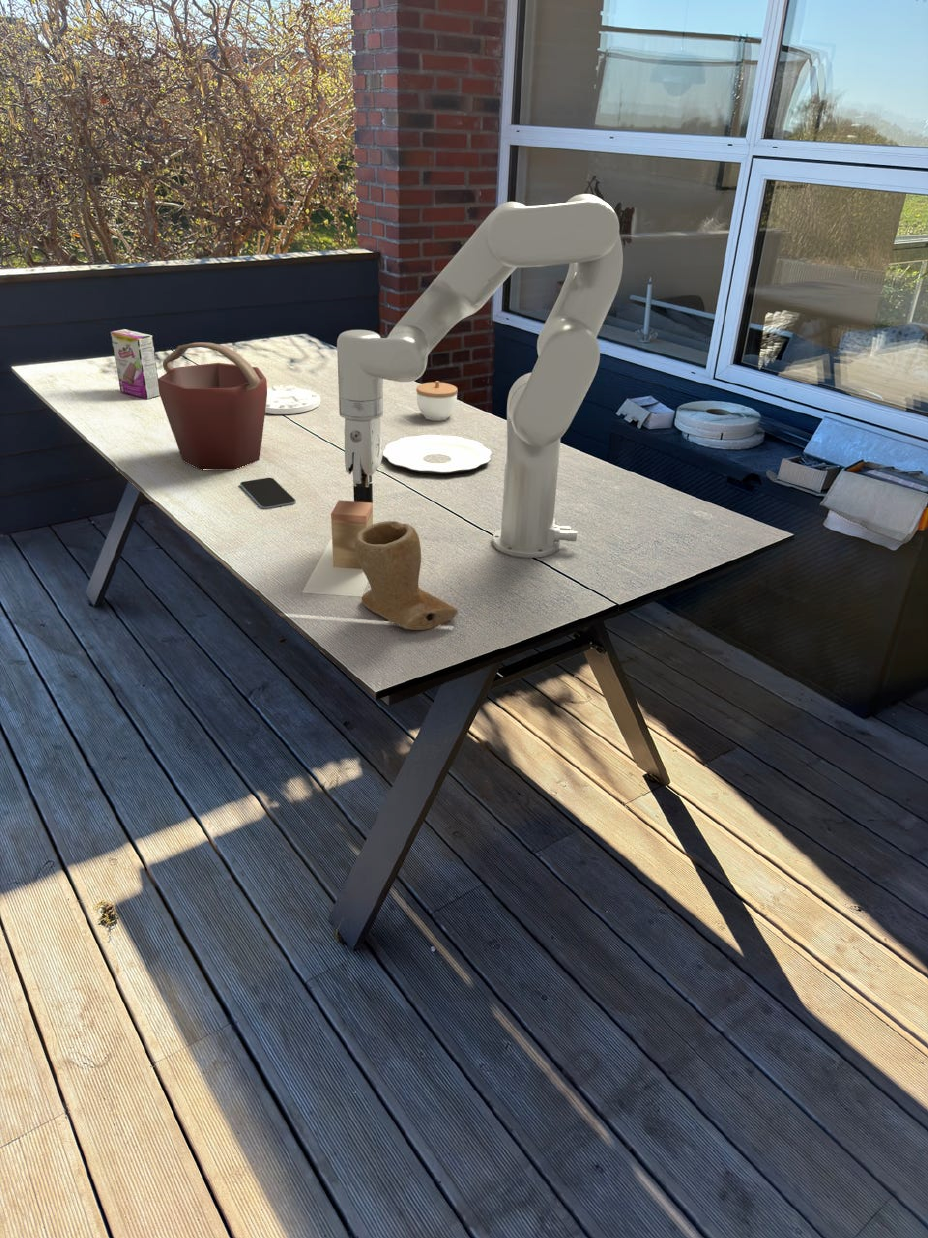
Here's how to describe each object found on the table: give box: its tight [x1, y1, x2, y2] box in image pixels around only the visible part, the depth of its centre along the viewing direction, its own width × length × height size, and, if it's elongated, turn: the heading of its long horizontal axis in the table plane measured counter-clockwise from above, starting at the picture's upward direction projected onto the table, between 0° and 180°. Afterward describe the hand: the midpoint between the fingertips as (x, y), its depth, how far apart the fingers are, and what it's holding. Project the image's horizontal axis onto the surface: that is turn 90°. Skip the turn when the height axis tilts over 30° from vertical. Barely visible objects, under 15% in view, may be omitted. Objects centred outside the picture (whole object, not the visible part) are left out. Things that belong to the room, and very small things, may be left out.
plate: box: [382, 434, 493, 475], centre depth 206 cm, size 25×25×2 cm
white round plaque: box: [265, 384, 321, 415], centre depth 239 cm, size 20×20×3 cm
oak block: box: [330, 500, 374, 569], centre depth 155 cm, size 6×6×10 cm
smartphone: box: [239, 477, 297, 510], centre depth 184 cm, size 7×1×15 cm
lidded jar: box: [415, 380, 459, 422], centre depth 232 cm, size 11×11×9 cm
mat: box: [301, 537, 369, 598], centre depth 156 cm, size 10×22×1 cm, turn 175°
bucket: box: [157, 341, 268, 471], centre depth 196 cm, size 24×22×25 cm
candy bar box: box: [110, 328, 160, 400], centre depth 239 cm, size 11×5×16 cm, turn 58°
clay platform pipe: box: [355, 520, 459, 631], centre depth 138 cm, size 15×12×15 cm
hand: (363, 504), depth 163 cm, fingers closed
